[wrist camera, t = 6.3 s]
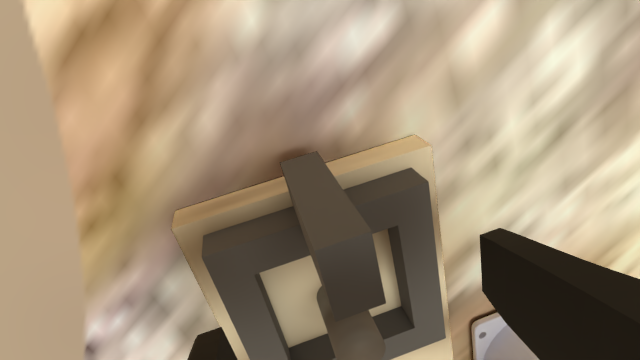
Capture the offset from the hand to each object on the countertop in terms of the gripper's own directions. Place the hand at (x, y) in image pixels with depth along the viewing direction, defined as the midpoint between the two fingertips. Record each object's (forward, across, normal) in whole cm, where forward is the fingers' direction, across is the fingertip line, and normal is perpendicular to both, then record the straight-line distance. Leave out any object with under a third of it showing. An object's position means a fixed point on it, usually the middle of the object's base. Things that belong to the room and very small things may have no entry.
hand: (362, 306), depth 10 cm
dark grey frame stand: (+6, 0, +4) cm, 8 cm away
